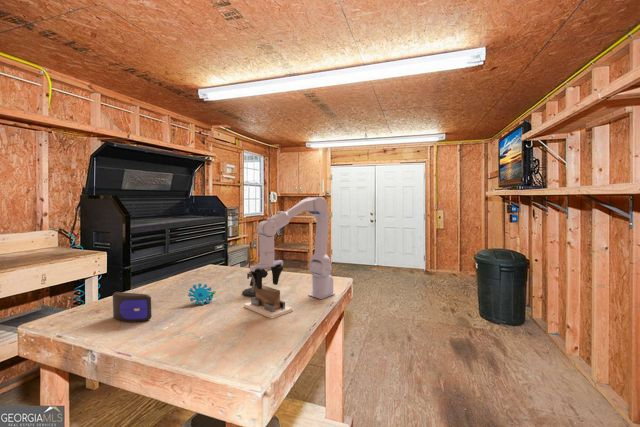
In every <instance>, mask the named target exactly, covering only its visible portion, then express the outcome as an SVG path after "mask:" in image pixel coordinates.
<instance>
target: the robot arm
mask: <svg viewBox="0 0 640 427" xmlns="http://www.w3.org/2000/svg"><path fill="white" fill-rule="evenodd" d="M328 205H329V204H328V201H327V200H326V199H325V197H322V196H316V197H310V196H308V197H305V198H304V199H302V200H300V201H299V202H298V203H296V204H295V205H294V206H292V207H291V208H289V209H288V210H286V211H285V210H284V211H283V210H281V211H280V210H278V211H276V212H275V214H274V215H272V216H269V217H267V218H266V220H262V221H260V222H259V223H258V224H257V227H256V228H255V231H256V233H257V235H258V242H259V244H258V246H259V247H258V248H259V262H258V263H256V264H252V265H249V272H251V274H252V275H253V277H254V279H255V282H256V285H257V288H258V289H262V285H263V278H262V277H263V273H264V272H261V269H265V270H266V269H270V268H271V270H270V271H271V274H272V284H273V285H275V286H278V284H279V280H280V276H281V274H282V272H283V270H284V267H283V266H284V260H282V259H278V260H275V235H276V234H277V231H279V230H280V229H282V228H283V227H285V226H286V225H288V224H290V222H291V219H292V218H294V217H296V216H298V215H299V214H301V213H303V212H304V211H306V212H308V213H310V214H311V215H313V217H314V218H315V219H316V221H315V222H316V225H315V241H314V254H312V256H311V257H310V262H309V264H308V270H309V272H310V273H311V277H312V278H311V280H312V282H311V284H312V288H311V290H312V293H309V294H307V295H308V296H309V297H312V298H316V299H319V300H322V299H326V298H329V297H331V296H333V295H335V292H334V279H333V276H332V275H331V273H332V270H333V267H332V264H331V261H332V260H331V258H330V256H329V255H328V243H329V242H328V241H329V240H328V239H329V222H330V213H329V209H328Z"/></svg>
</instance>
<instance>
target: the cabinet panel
mask: <svg viewBox="0 0 640 427" xmlns="http://www.w3.org/2000/svg"><path fill="white" fill-rule="evenodd" d="M243 307H244V308H246V309H248V310H250V311H253V312H255V313H258V314H260V315H262V316H265V317H266V318H268V319H275V318H277V317H281V316H284V315H286V314H288V313H291V312H293V310H294V309H293V307H291V306H288V305H286V304H285V308H284V309H282V308H280V309H278V310H275V312H270V311H268V310H265V309H264V306H261V305H260V306H259V307H258V306H255V305H253V304H251V301H250V302H245V303H243Z"/></svg>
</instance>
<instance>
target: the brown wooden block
mask: <svg viewBox="0 0 640 427" xmlns="http://www.w3.org/2000/svg"><path fill="white" fill-rule="evenodd" d="M255 298H256V299H259V300H260V305H261V306H264V303H266V302H267V303H270V304H272V305H275V310H278V309H280V300H281V290H279V289H277V288H274V287H270V286H267V285H264V284H262V289H258V288H257V286H256V297H255Z"/></svg>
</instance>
